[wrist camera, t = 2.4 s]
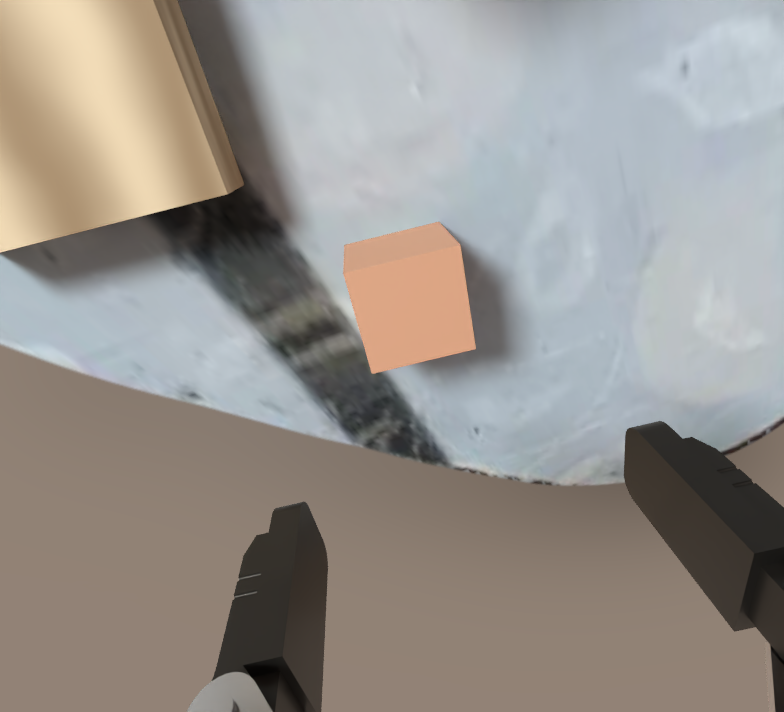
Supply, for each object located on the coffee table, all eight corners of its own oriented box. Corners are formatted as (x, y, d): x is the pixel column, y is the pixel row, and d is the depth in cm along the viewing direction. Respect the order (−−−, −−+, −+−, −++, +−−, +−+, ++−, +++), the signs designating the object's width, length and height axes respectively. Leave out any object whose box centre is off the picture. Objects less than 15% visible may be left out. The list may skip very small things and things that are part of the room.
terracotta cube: (438, 221, 25) (460, 244, 20) (453, 309, 28) (476, 348, 23) (344, 244, 25) (343, 273, 20) (367, 330, 28) (372, 373, 23)
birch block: (109, -194, 17) (46, -277, 14) (246, 183, 24) (227, 194, 20) (-227, -97, 18) (-373, -153, 14) (-2, 247, 24) (-63, 268, 20)
